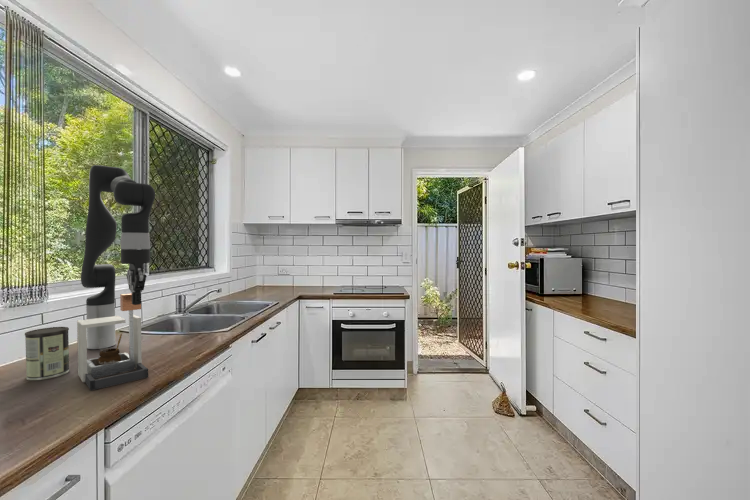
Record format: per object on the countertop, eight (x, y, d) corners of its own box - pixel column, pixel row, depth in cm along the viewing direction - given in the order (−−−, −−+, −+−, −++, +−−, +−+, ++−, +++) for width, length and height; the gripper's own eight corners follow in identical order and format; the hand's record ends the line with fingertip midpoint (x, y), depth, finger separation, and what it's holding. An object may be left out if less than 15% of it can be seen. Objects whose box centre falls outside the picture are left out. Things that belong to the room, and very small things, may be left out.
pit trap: (85, 382, 107) (85, 374, 107) (140, 370, 117) (140, 362, 117) (90, 390, 100) (90, 381, 100) (148, 377, 111) (148, 369, 110)
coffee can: (49, 368, 119) (48, 326, 119) (78, 369, 118) (77, 326, 118) (15, 380, 109) (14, 333, 109) (46, 381, 108) (45, 334, 108)
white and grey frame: (77, 374, 114) (77, 320, 113) (133, 363, 124) (133, 313, 124) (83, 382, 107) (82, 325, 106) (141, 369, 117) (141, 317, 117)
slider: (85, 370, 115) (84, 294, 115) (132, 361, 125) (131, 290, 124) (92, 379, 107) (91, 297, 107) (142, 369, 116) (141, 293, 116)
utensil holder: (101, 370, 117) (100, 333, 117) (124, 367, 119) (123, 331, 119) (95, 376, 112) (94, 338, 111) (119, 373, 114) (119, 335, 114)
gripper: (116, 248, 112) (116, 303, 112) (126, 247, 103) (127, 308, 103) (143, 248, 118) (144, 301, 118) (156, 247, 108) (156, 305, 109)
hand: (136, 304), depth 110 cm, fingers closed
